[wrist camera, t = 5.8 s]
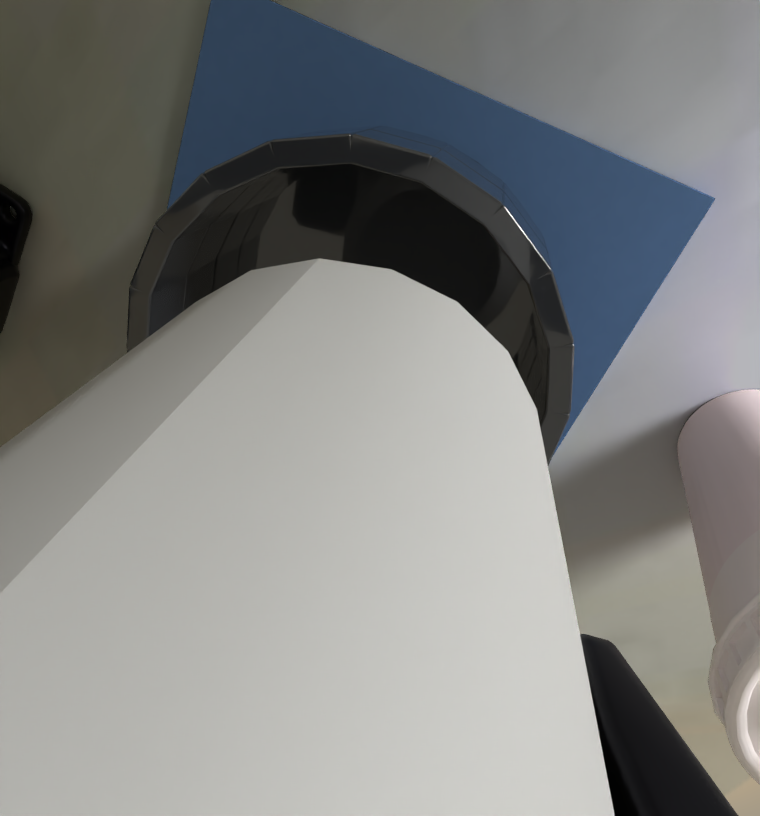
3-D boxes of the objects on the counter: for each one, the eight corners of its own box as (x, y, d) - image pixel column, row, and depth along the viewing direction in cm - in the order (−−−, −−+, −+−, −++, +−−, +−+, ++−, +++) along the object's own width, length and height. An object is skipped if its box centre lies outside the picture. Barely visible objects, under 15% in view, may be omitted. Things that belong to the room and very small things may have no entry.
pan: (151, 362, 22) (72, 422, 18) (300, 38, 17) (235, 20, 13) (424, 530, 23) (407, 622, 19) (643, 275, 18) (683, 327, 14)
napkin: (126, 414, 23) (123, 416, 23) (218, -23, 16) (215, -24, 16) (480, 567, 23) (480, 571, 23) (713, 197, 17) (716, 198, 16)
